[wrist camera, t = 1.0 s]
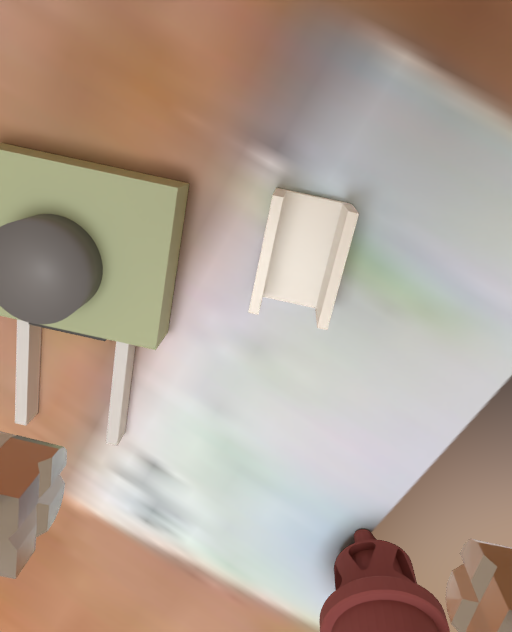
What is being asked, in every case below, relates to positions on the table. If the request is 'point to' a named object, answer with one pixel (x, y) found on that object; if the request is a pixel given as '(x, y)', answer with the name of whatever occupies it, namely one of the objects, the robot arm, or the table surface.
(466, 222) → the table surface
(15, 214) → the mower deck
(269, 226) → the chute
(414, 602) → the mechanical component
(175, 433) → the table surface
